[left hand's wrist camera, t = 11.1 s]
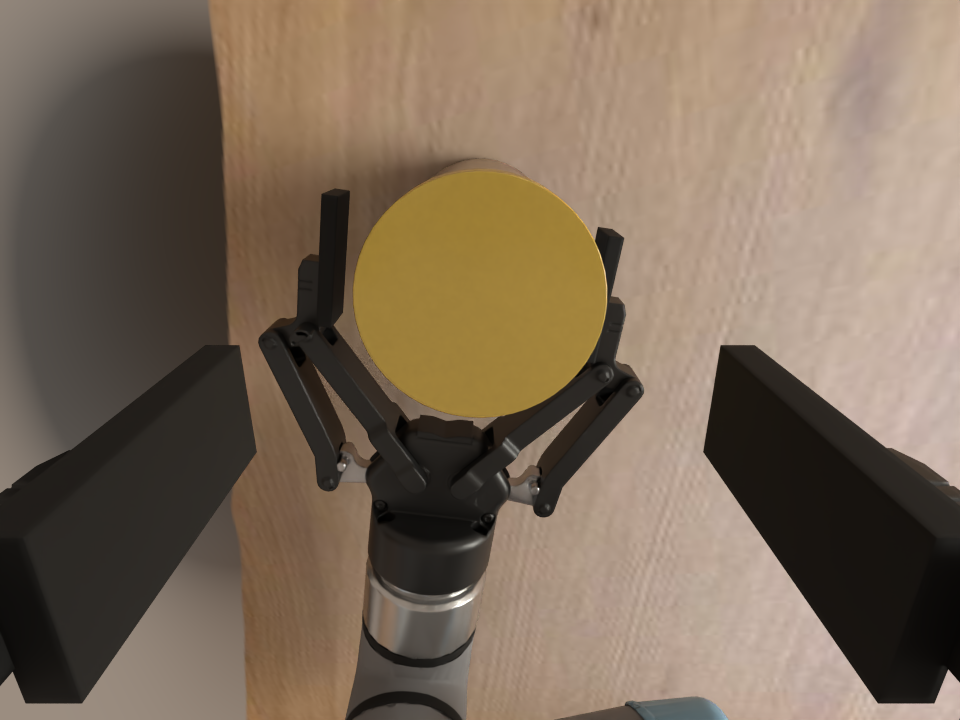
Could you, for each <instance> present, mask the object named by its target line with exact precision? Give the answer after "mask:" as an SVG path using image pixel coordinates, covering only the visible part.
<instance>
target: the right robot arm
mask: <svg viewBox="0 0 960 720" xmlns="http://www.w3.org/2000/svg"><path fill="white" fill-rule="evenodd" d="M349 198H350V191H348V190H341V189H333V190H330V191H328V192H325V193H323V194H322V196H321V220H320V245H319V255H313V254H310V255H309V256H307V257H306V258H304V259H303V260H302V262H301V265H300V267H299V269H298V301H297V317H295V318H291V319H286V318H281V319H278V320H277V321H276V322H275V323H273V324H272V325H271V326H270V327H269V328H268V329H267V330H266V331H265V332H264V333H263V334H262V335H261V336H260V337H259V341H258V343H259V347H260V349H261V351H262V353H263V355H264V357H265V359H266V361H267V363H268V365H269V367H270V369H271V370H272V372H273V374H274V376H275V378H276V380H277V382H278V384H279V386H280V388H281V390H282V392H283V394H284V396H285V398H286V400H287V402H288V404H289V406H290V408H291V410H292V412H293V414H294V416H295V418H296V420H297V422H298V424H299V426H300V428H301V430H302V432H303V434H304V436H305V438H306V440H307V442H308V444H309V446H310V448H311V450H312V452H313V454H314V456H315V464H316V475H317V483H318V486H319V487H320V488H321V489H322V490H324V491H333V490H335V489H336V488H337V487H338V484H339V482H363V483H367V485H368V487H369V489H370V491H371V494H372V508H371V519H370V531H369V542H368V555H369V556H368V559H367V563H366V575H365V588H364V602H363V615H362V631H361V639H360V647H359V655H358V662H357V669H356V674H355V679H354V683H353V688H352V692H351V696H350V701H349V705H348V709H347V714H346V718H345V720H466V711H467V682H468V672H469V665H470V658H471V651H472V644H473V637H474V633H475V629H476V624H477V621H478V617H479V612H480V606H481V601H482V595H483V589H484V584H485V578H486V568H487V566H488V562H489V557H490V551H491V546H492V540H493V535H494V529H495V524H496V519H497V514H498V511H499V509H500V508H501V506H502V505H503V504H504V503H505V502H506V501H507V500H510V501H514V502H519V503H523V504H528V505H532V506H533V510H534V513H535V514H536V515H537V516H539V517H548V516H550V515H551V514H552V513H553V511H554V509H555V506H556V504H557V501H558V498H559V495H560V493H561V490H562V487H563V486H564V485H565V484H566V483H567V482H568V480H569V479H570V478H571V477H572V476H573V475H574V474H575V472H576V471H577V470H578V469H579V468H580V467H581V466H582V464H583V463H584V462H585V461H586V460H587V459H588V458H589V456H590V455H591V454H592V453H593V452H594V451H595V450H596V448H597V447H598V446H599V445H600V444H601V443H602V442H603V440H604V439H605V438H606V437H607V436H608V435H609V434H610V432H611V431H612V430H613V429H614V428H615V427H616V426H617V424H618V423H619V422H620V421H621V420H622V419H623V418H624V416H625V415H626V414H627V413H628V412H629V411H630V410H631V408H632V407H633V406H634V405H635V404H636V403H637V402H638V400H639V399H640V398H641V397H642V395H643V394H644V388H643V385H642V384H641V382H640V380H639V379H638V377H637V376H636V374H635V373H634V371H633V369H632V368H631V367H630V366H629V365H627V364H621V363H619V362H617V361H615V358H616V353H617V349H618V345H619V341H620V337H621V332H622V329H623V324H624V321H625V316H626V312H625V306H624V304H623V303H622V301H621V300H620V299H619V298H618V297H612V296H611V293H612V289H613V284H614V280H615V276H616V271H617V267H618V263H619V258H620V254H621V250H622V246H623V241H624V238H623V237H622V236H621V235H619V234H618V233H617V232H615V231H614V230H613V229H608V228H601V227H598V230H597V234H596V239H595V243H596V245H597V247H598V250H599V252H600V254H601V258H602V262H603V265H604V269H605V275H606V282H607V307H606V314H605V320H604V323H603V327H602V331H601V334H600V336H599V339H598V341H597V344H596V346H595V348H594V350H593V352H592V353H591V355H590V357H589V359H588V360H587V362H586V363H585V364H584V366H583V367H582V368H581V370H580V371H579V372H578V374H577V375H576V376H575V377H574V378H573V379H572V380H571V381H570V382H569V383H568V384H567V385H566V386H564V387H563V388H562V389H561V390H559V391H558V392H557V393H555V394H554V395H553V396H551V397H549V398H548V399H546V400H544V401H543V402H541V403H539V404H537V405H535V406H532V407H530V408H528V409H525V410H522V411H519V412H516V413H513V414H508V415H505V416H500V417H498V418H496V419H495V420H494V421H493V422H491V423H490V424H489V425H488V426H486V427H485V428H484V429H482V430H481V429H480V428H478V427H476V426H474V425H473V421H466V420H454V421H444V420H442V419H439V418H436V417H434V416H426V415H420V418H418V419H414V420H411V421H409V419H408V418H407V417H406V415H405V414H404V413H403V411H402V410H401V409H400V407H399V406H398V405H397V404H396V403H394V402H391V401H390V399H389V398H388V397H387V395H386V394H385V393H384V391H383V390H382V389H381V387H380V386H379V385H378V384H377V382H376V381H375V380H374V378H373V377H372V376H371V374H370V373H369V372H368V370H367V369H366V368H365V366H364V365H363V364H362V362H361V361H360V360H359V358H358V357H357V356H356V354H355V353H354V352H353V351H352V349H351V348H350V347H349V345H348V344H347V343H346V341H345V340H344V339H343V337H342V336H341V335H340V333H339V332H338V331H337V329H336V328H335V327H334V324H335V322H336V321H337V320H338V318H339V317H340V316H341V314H342V313H343V302H344V285H345V267H346V250H347V233H348V216H349ZM313 364H314V365H315V366H316V368H317V369H318V370H319V371H320V373H321V374H322V375H323V376H324V378H325V379H326V380H327V381H328V383H329V384H330V385H331V387H332V388H333V389H334V390H335V392H336V393H337V394H338V395H339V397H340V398H341V399H342V400H343V402H344V403H345V404H346V405H347V407H348V408H349V409H350V411H351V412H352V413H353V414H354V416H355V417H356V418H357V419H358V421H359V422H360V423H361V424H362V426H363V427H364V428H365V429H366V431H367V433H368V437H369V440H370V442H371V443H372V445H373V446H374V447H375V449H376V450H377V452H376V453H375V454H374V455H373V456H372V457H371V458H370V460H366V459H363V458H361V457H360V456H359V454H358V452H357V450H356V448H355V446H354V444H353V443H352V442H347V443H346V437H345V433H344V429H343V427H342V424H341V422H340V420H339V418H338V416H337V414H336V411H335V409H334V407H333V405H332V403H331V401H330V399H329V397H328V395H327V392H326V390H325V388H324V386H323V384H322V382H321V380H320V378H319V376H318V373H317V371H316V369H315V367H314V365H313ZM585 401H586V402H585ZM584 402H585V403H584ZM583 403H584V405H583V406H582V407H581V408H580V409H579V411H578V412H577V413H576V414H575V415H574V417H573V418H572V419H571V420H570V421H569V423H568V424H567V425H566V426H565V427H564V429H563V430H562V431H561V432H560V433H559V434H558V436H557V437H556V438H555V439H554V440H553V442H552V443H551V444H550V445H549V446H548V448H547V449H546V450H545V451H544V453H543V454H542V456H541V457H540V459H539V461H538V463H537V466H534V465H530V466H529V467H528V468H527V469H526V470H525V471H524V473H523V474H522V475H521V476H520V477H517V478H510V476H509V473H508V471H507V469H506V468H505V467H506V466H508V465H509V464H510V463H512V462H513V461H514V460H515V459H516V458H517V456H518V454H519V452H520V451H521V450H522V449H523V448H525V447H526V446H527V445H529V444H530V443H531V442H533V441H534V440H535V439H536V438H538V437H539V436H540V435H542V434H543V433H544V432H546V431H547V430H548V429H550V428H551V427H552V426H554V425H555V424H556V423H558V422H559V421H560V420H562V419H563V418H564V417H566V416H567V415H568V414H569V413H571V412H572V411H573V410H575V409H576V408H577V407H579V406H580V405H581V404H583ZM556 720H728V718H727V717H726V715H725V714H724V713H723V711H722V710H721V709H720V708H719V707H718V706H717V705H716V704H714V703H713V702H711V701H710V700H707V699H705V698H702V697H684V698H674V699H664V700H653V701H643V702H635V701H628V702H626V703H625V706H621V707H616V708H611V709H606V710H601V711H596V712H591V713H586V714H581V715H576V716H571V717H566V718H561V719H556Z"/></svg>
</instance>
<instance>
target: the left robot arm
mask: <svg viewBox="0 0 960 720" xmlns="http://www.w3.org/2000/svg"><path fill="white" fill-rule="evenodd" d="M256 452H257V451H256V445H255V439H254V433H253V426H252V420H251V414H250V408H249V402H248V396H247V390H246V383H245V377H244V371H243V365H242V359H241V353H240V347H239V345H205V346H204V347H203V348H201V349H200V350H199V351H197V352H196V353H195V354H194V355H192V356H191V357H190V358H188V359H187V360H186V361H185V362H183V363H182V364H181V365H179V366H178V367H177V368H176V369H174V370H173V371H172V372H171V373H169V374H168V375H167V376H165V377H164V378H163V379H162V380H160V381H159V382H158V383H156V384H155V385H154V386H153V387H151V388H150V389H149V390H147V391H146V392H145V393H144V394H142V395H141V396H140V397H139V398H137V399H136V400H135V401H133V402H132V403H131V404H130V405H128V406H127V407H126V408H124V409H123V410H122V411H121V412H119V413H118V414H117V415H116V416H114V417H113V418H112V419H110V420H109V421H108V422H106V423H105V424H104V425H103V426H101V427H100V428H99V429H98V430H96V431H95V432H94V433H92V434H91V435H90V436H89V437H87V438H86V439H85V440H83V441H82V442H81V443H80V444H78V445H77V446H76V447H75V448H73V449H72V450H69V451H66V452H64V453H62V454H60V455H58V456H56V457H54V458H52V459H50V460H48V461H46V462H44V463H42V464H40V465H37V466H36V467H34V468H33V469H32V470H30V471H29V472H28V473H26V474H25V475H24V476H23V477H21V478H20V479H19V480H17V481H16V482H15V483H13V484H12V487H11V488H7V489H5V490H4V491H3V492H1V493H0V685H1V684H2V683H3V682H4V681H5V680H6V679H7V677H8V676H9V675H10V674H11V673H12V672H13V673H14V676H15V678H16V681H17V683H18V686H19V688H20V691H21V693H22V695H23V698H24V700H25V703H83V701H84V700H85V698H86V697H87V695H88V694H89V693H90V691H91V690H92V688H93V687H94V685H95V684H96V682H97V681H98V680H99V678H100V677H101V675H102V674H103V672H104V671H105V669H106V668H107V667H108V665H109V664H110V662H111V661H112V659H113V658H114V657H115V655H116V654H117V652H118V651H119V649H120V648H121V646H122V645H123V644H124V642H125V641H126V639H127V638H128V636H129V635H130V634H131V632H132V631H133V629H134V628H135V626H136V625H137V623H138V622H139V620H140V619H141V618H142V616H143V615H144V613H145V612H146V611H147V609H148V608H149V606H150V605H151V603H152V602H153V600H154V599H155V598H156V596H157V595H158V593H159V592H160V590H161V589H162V588H163V586H164V585H165V583H166V582H167V580H168V579H169V577H170V576H171V575H172V573H173V572H174V570H175V569H176V567H177V566H178V564H179V563H180V562H181V560H182V559H183V557H184V556H185V554H186V553H187V552H188V550H189V549H190V547H191V546H192V544H193V543H194V541H195V540H196V539H197V537H198V536H199V534H200V533H201V531H202V530H203V529H204V527H205V526H206V524H207V523H208V521H209V520H210V518H211V517H212V516H213V514H214V513H215V511H216V510H217V508H218V507H219V506H220V504H221V503H222V501H223V500H224V498H225V497H226V495H227V494H228V493H229V491H230V490H231V488H232V487H233V485H234V484H235V482H236V481H237V480H238V478H239V477H240V475H241V474H242V472H243V471H244V470H245V468H246V467H247V465H248V464H249V462H250V461H251V459H252V458H253V457H254V455H255V454H256ZM703 452H704V454H705V455H706V457H707V458H708V459H709V461H710V462H711V464H712V465H713V467H714V468H715V470H716V471H717V472H718V474H719V475H720V477H721V478H722V480H723V481H724V482H725V484H726V485H727V487H728V488H729V490H730V491H731V493H732V494H733V495H734V497H735V498H736V500H737V501H738V503H739V504H740V506H741V507H742V508H743V510H744V511H745V513H746V514H747V516H748V517H749V518H750V520H751V521H752V523H753V524H754V526H755V527H756V529H757V530H758V531H759V533H760V534H761V536H762V537H763V539H764V540H765V541H766V543H767V544H768V546H769V547H770V549H771V550H772V552H773V553H774V554H775V556H776V557H777V559H778V560H779V562H780V563H781V564H782V566H783V567H784V569H785V570H786V572H787V573H788V575H789V576H790V577H791V579H792V580H793V582H794V583H795V585H796V586H797V588H798V589H799V590H800V592H801V593H802V595H803V596H804V598H805V599H806V600H807V602H808V603H809V605H810V606H811V608H812V609H813V611H814V612H815V613H816V615H817V616H818V618H819V619H820V621H821V622H822V623H823V625H824V626H825V628H826V629H827V631H828V632H829V634H830V635H831V636H832V638H833V639H834V641H835V642H836V644H837V645H838V647H839V648H840V649H841V651H842V652H843V654H844V655H845V657H846V658H847V659H848V661H849V662H850V664H851V665H852V667H853V668H854V670H855V671H856V672H857V674H858V675H859V677H860V678H861V680H862V681H863V682H864V684H865V685H866V687H867V688H868V690H869V691H870V693H871V694H872V695H873V697H874V698H875V700H876V701H877V703H935V700H936V698H937V696H938V693H939V691H940V688H941V686H942V683H943V681H944V678H945V676H946V673H947V671H948V669H949V671H950V672H951V673H952V674H953V675H954V676H955V677H956V679H957V680H958V681H959V682H960V490H958V489H957V488H956V487H954V486H949V482H948V481H946V480H945V479H944V478H942V477H941V476H940V475H938V474H937V473H936V472H934V471H933V470H932V469H930V468H929V467H928V466H926V465H925V464H923V463H921V462H919V461H917V460H915V459H913V458H911V457H909V456H907V455H905V454H903V453H901V452H898V451H896V450H894V449H892V448H886V447H884V446H883V445H882V444H880V443H879V442H878V441H877V440H875V439H874V438H873V437H871V436H870V435H869V434H868V433H866V432H865V431H864V430H862V429H861V428H860V427H859V426H857V425H856V424H855V423H853V422H852V421H851V420H850V419H848V418H847V417H846V416H845V415H843V414H842V413H841V412H839V411H838V410H837V409H836V408H834V407H833V406H832V405H830V404H829V403H828V402H827V401H825V400H824V399H823V398H821V397H820V396H819V395H818V394H816V393H815V392H814V391H813V390H811V389H810V388H809V387H807V386H806V385H805V384H804V383H802V382H801V381H800V380H798V379H797V378H796V377H795V376H793V375H792V374H791V373H789V372H788V371H787V370H786V369H784V368H783V367H782V366H781V365H779V364H778V363H777V362H775V361H774V360H773V359H772V358H770V357H769V356H768V355H766V354H765V353H764V352H763V351H761V350H760V349H759V348H757V347H756V346H755V345H721V346H720V353H719V359H718V365H717V371H716V377H715V383H714V390H713V396H712V402H711V408H710V414H709V420H708V426H707V433H706V439H705V445H704V451H703ZM959 720H960V719H959Z"/></svg>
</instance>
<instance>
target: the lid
mask: <svg viewBox="0 0 960 720" xmlns="http://www.w3.org/2000/svg"><path fill="white" fill-rule="evenodd" d="M606 307H607V282H606V275H605V269H604V265H603V262H602V258H601V254H600V252H599V250H598V247H597V245H596V243H595V241H594V238H593V237H592V235H591V234H590V232H589V230H588V229H587V227H586V225H585V224H584V223H583V221H582V220H581V219H580V218H579V217H578V215H577V214H576V213H575V212H574V211H573V210H572V209H571V208H570V207H569V206H568V205H567V204H566V203H565V202H564V201H563V200H561V199H560V198H559V197H558V196H557V195H556V194H554V193H553V192H551V191H550V190H548V189H547V188H545V187H544V186H543V185H541V184H539V183H537V182H535V181H533V180H531V179H529V178H527V177H524V176H521V175H518V174H515V173H512V172H507V171H502V170H497V169H485V168H474V169H462V170H457V171H453V172H448V173H444V174H442V175H439V176H436V177H434V178H431V179H429V180H427V181H425V182H423V183H421V184H420V185H418V186H416V187H414V188H413V189H412V190H410V191H409V192H407V193H406V194H405V195H403V196H402V197H401V198H400V199H398V200H397V201H396V202H395V203H394V204H393V205H392V206H391V207H390V208H389V209H388V210H387V211H386V212H385V213H384V214H383V215H382V216H381V218H380V219H379V220H378V222H377V223H376V224H375V225H374V227H373V228H372V230H371V232H370V234H369V235H368V237H367V239H366V240H365V242H364V245H363V247H362V250H361V252H360V255H359V257H358V261H357V265H356V269H355V273H354V282H353V308H354V314H355V320H356V324H357V327H358V330H359V334H360V337H361V339H362V341H363V344H364V346H365V348H366V350H367V352H368V354H369V355H370V357H371V358H372V360H373V362H374V363H375V365H376V366H377V367H378V368H379V370H380V371H381V372H382V373H383V375H384V376H385V377H386V378H387V379H388V380H389V381H390V382H391V383H392V384H393V385H394V386H395V387H397V388H398V389H399V390H401V391H402V392H403V393H405V394H406V395H407V396H409V397H410V398H412V399H414V400H416V401H417V402H419V403H421V404H423V405H425V406H428V407H430V408H432V409H435V410H437V411H441V412H444V413H448V414H451V415H457V416H463V417H478V418H484V417H497V416H503V415H508V414H513V413H516V412H519V411H522V410H525V409H528V408H530V407H532V406H535V405H537V404H539V403H541V402H543V401H544V400H546V399H548V398H549V397H551V396H553V395H554V394H555V393H557V392H558V391H559V390H561V389H562V388H563V387H564V386H566V385H567V384H568V383H569V382H570V381H571V380H572V379H573V378H574V377H575V376H576V375H577V374H578V372H579V371H580V370H581V368H582V367H583V366H584V364H585V363H586V362H587V360H588V359H589V357H590V355H591V353H592V352H593V350H594V348H595V346H596V344H597V341H598V339H599V336H600V334H601V331H602V327H603V323H604V320H605V314H606Z"/></svg>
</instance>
